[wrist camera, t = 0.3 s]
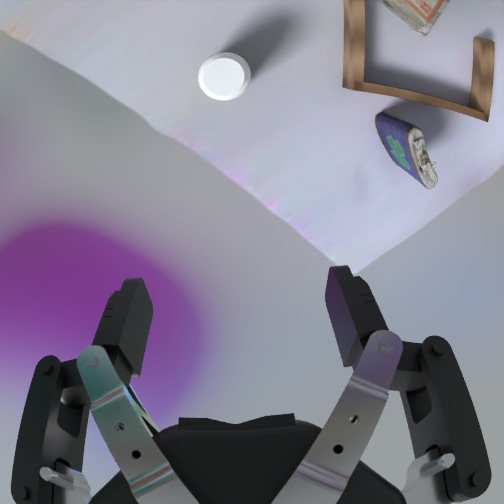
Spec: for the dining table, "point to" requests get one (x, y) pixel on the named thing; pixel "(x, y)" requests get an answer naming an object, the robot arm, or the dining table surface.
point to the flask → (406, 148)
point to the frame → (355, 77)
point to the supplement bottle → (224, 76)
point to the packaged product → (417, 12)
